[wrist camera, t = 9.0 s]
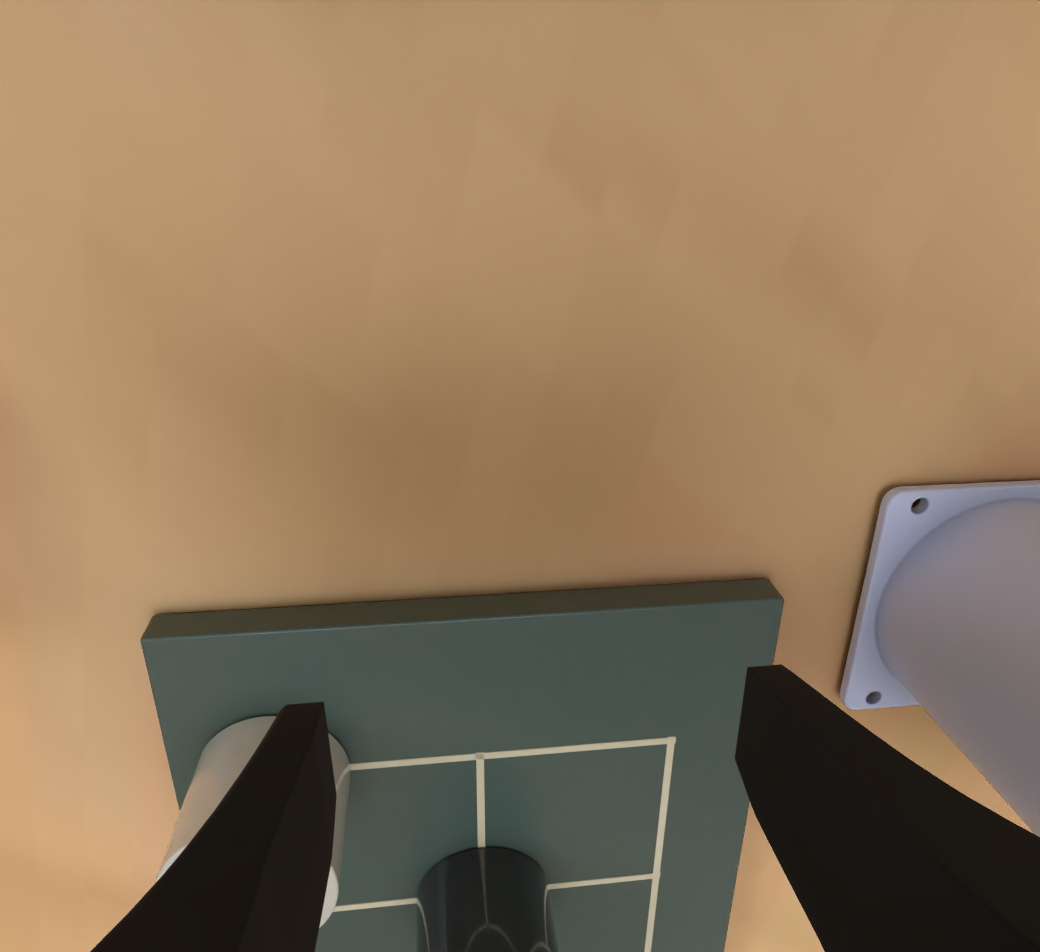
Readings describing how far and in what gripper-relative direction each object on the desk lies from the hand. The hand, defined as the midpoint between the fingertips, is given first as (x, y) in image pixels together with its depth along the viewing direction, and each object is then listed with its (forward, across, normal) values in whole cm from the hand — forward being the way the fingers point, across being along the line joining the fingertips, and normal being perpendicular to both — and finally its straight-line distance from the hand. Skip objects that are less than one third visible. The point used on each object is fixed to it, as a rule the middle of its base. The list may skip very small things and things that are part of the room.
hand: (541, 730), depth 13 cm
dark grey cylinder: (+8, +1, +14) cm, 16 cm away
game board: (+9, +1, +14) cm, 17 cm away
